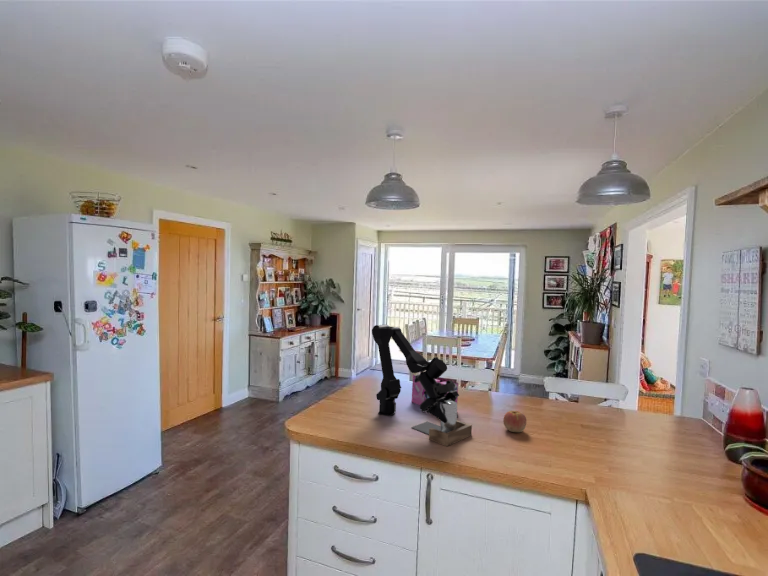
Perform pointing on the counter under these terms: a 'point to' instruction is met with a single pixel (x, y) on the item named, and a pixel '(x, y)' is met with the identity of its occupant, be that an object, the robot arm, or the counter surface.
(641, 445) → the counter surface
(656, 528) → the counter surface
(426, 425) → the rubber mat
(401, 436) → the counter surface
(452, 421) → the steel tin
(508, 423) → the apple
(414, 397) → the gum box
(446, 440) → the walnut rack
